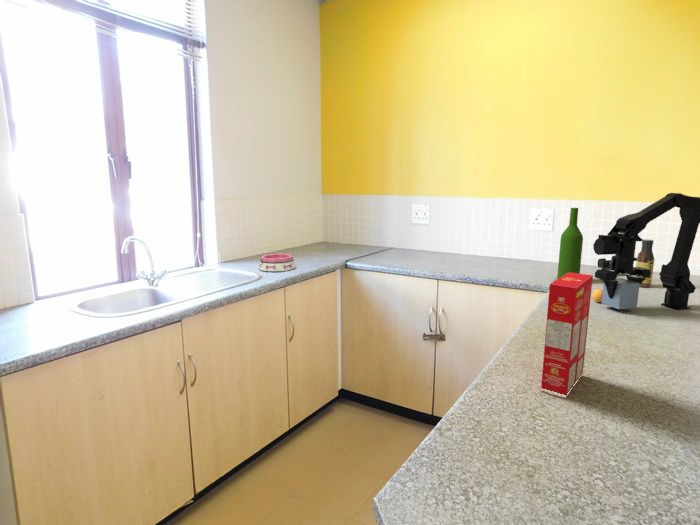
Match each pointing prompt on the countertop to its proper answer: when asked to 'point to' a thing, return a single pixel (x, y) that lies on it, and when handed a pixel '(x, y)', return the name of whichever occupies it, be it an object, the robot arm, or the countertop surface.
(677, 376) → the countertop surface
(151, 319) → the countertop surface
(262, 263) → the dog bowl
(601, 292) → the ball
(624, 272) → the robot arm
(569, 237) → the wine bottle
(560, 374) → the food packaging
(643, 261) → the sauce bottle
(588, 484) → the countertop surface
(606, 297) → the grey-blue cube
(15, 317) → the countertop surface
